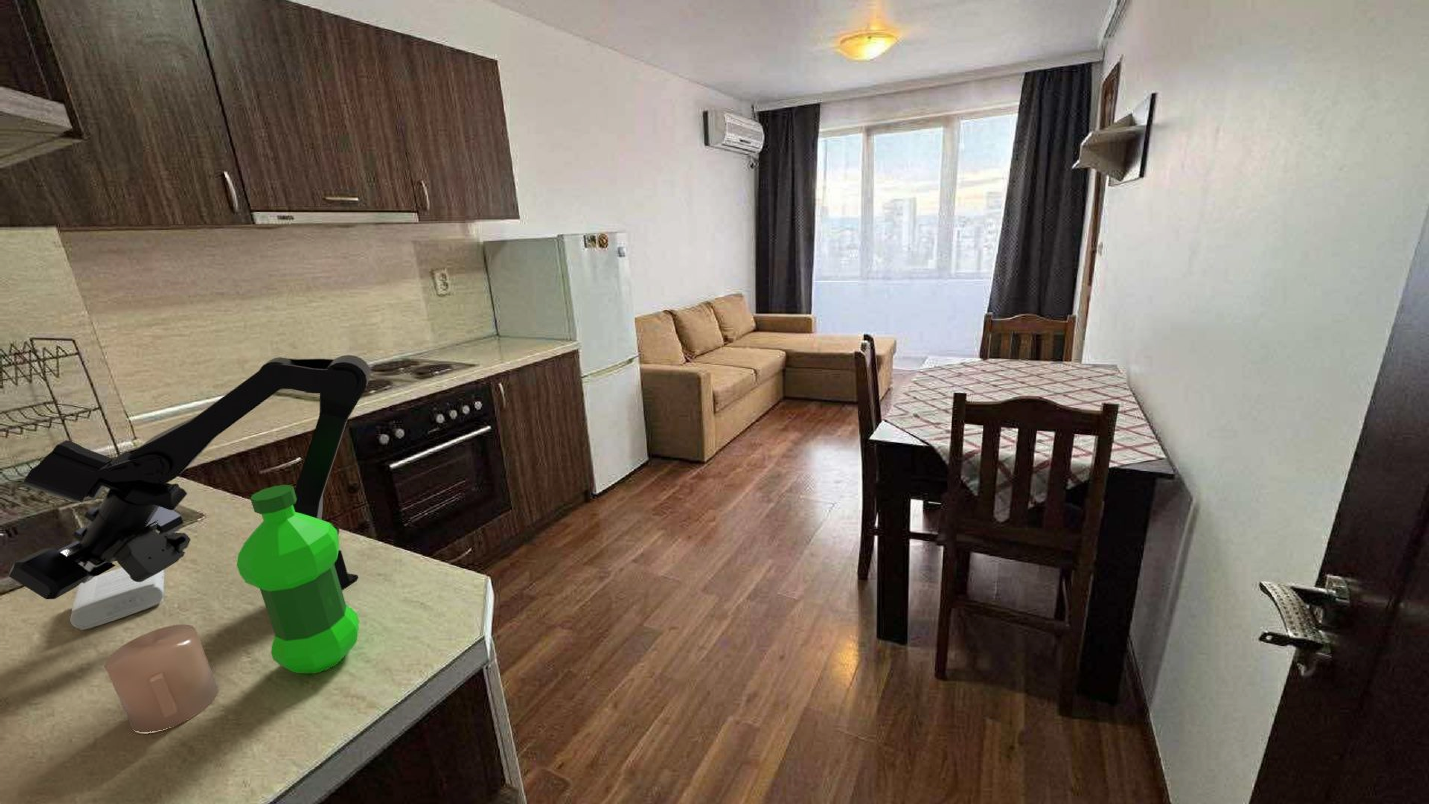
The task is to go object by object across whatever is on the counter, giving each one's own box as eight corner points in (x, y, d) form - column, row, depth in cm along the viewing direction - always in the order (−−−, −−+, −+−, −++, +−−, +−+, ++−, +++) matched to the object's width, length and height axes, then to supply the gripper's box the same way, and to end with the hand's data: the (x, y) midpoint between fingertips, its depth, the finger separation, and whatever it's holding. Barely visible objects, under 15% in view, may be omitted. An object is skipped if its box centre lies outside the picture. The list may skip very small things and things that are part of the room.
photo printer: (168, 603, 92) (167, 573, 101) (159, 580, 91) (159, 552, 99) (76, 636, 85) (84, 601, 94) (64, 611, 84) (73, 578, 93)
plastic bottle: (308, 698, 71) (248, 519, 64) (262, 673, 76) (201, 503, 68) (383, 646, 80) (339, 482, 72) (338, 626, 84) (291, 470, 77)
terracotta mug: (133, 708, 71) (106, 648, 69) (216, 673, 77) (194, 615, 74) (130, 753, 65) (101, 689, 62) (221, 711, 70) (197, 650, 67)
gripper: (110, 584, 74) (64, 656, 78) (232, 513, 91) (189, 575, 95) (28, 532, 72) (-16, 608, 76) (169, 470, 90) (127, 534, 93)
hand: (83, 580), depth 85 cm, fingers closed
